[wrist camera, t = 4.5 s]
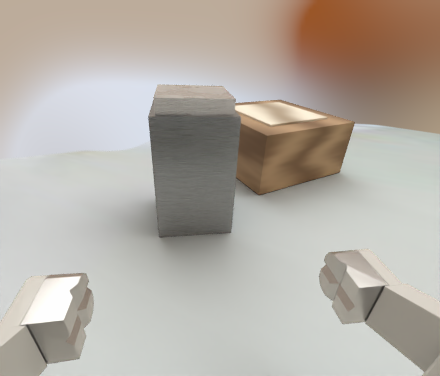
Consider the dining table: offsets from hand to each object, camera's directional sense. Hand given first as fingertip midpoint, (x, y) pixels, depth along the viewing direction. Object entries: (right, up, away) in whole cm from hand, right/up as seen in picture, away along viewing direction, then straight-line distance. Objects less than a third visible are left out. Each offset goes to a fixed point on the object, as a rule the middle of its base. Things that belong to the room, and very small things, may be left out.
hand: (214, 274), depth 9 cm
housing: (-2, +1, +13) cm, 13 cm away
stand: (+6, +6, +24) cm, 25 cm away
